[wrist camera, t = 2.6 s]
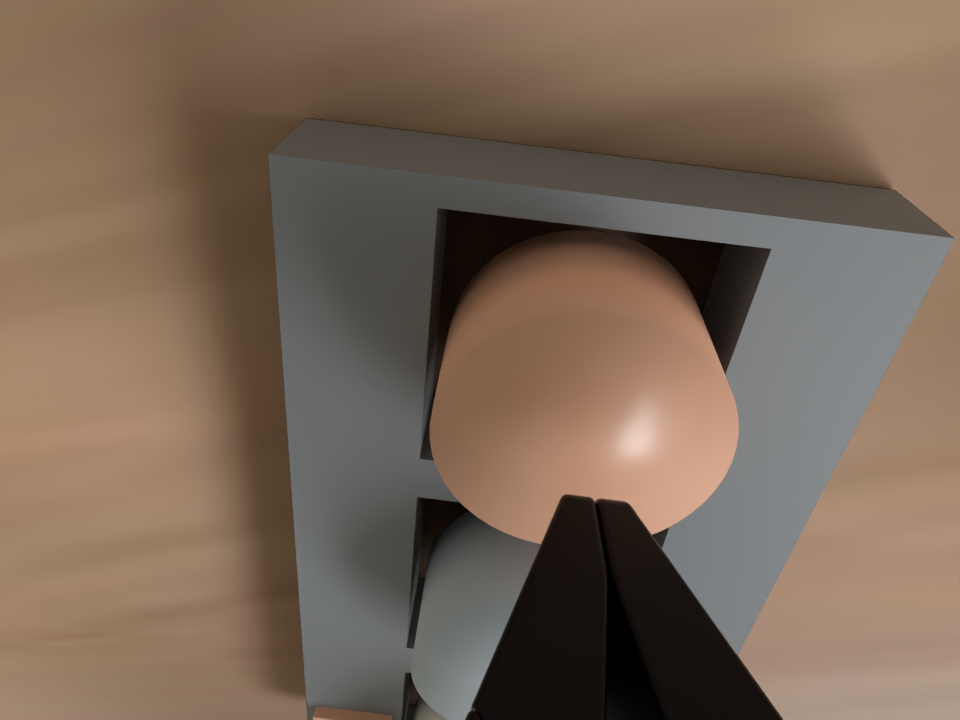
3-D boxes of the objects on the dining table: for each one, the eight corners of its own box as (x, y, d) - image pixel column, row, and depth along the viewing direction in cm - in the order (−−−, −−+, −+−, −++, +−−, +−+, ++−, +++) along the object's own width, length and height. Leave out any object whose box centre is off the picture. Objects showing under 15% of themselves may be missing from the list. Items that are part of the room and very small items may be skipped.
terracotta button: (666, 456, 13) (690, 562, 11) (440, 428, 13) (421, 530, 11) (735, 248, 11) (784, 333, 9) (459, 214, 11) (440, 291, 9)
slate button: (604, 641, 17) (614, 752, 15) (422, 619, 17) (406, 726, 15) (646, 514, 14) (666, 623, 12) (434, 488, 14) (416, 593, 12)
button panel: (645, 743, 22) (655, 825, 20) (328, 704, 22) (308, 782, 20) (895, 190, 12) (965, 247, 10) (306, 118, 12) (260, 161, 10)
